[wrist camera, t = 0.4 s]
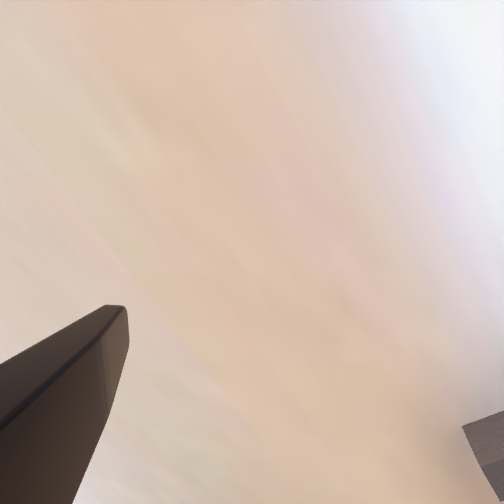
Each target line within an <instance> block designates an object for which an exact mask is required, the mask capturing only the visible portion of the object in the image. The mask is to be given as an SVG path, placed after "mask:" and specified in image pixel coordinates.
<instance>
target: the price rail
mask: <svg viewBox="0 0 504 504" xmlns="http://www.w3.org/2000/svg"><path fill="white" fill-rule="evenodd" d="M462 428H463V430H464V432H465V434H466V437H467V439H468V441H469V443H470V445H471V448H472V450H473V452H474V454H475V456H476V458H477V461H478V463H479V465H480V467H481V469H482V471H483V472H484V474H485V476H486V477H487V479H488V481H489V483H490V484H491V486H492V488H493V489H494V491H495V493H496V495H497V496H498V498H499V500H500V501H504V411H503V412H500V413H497V414H495V415H492V416H489V417H487V418H484V419H481V420H478V421H476V422H473V423H470V424H468V425H465V426H462Z"/></svg>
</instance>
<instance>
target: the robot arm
mask: <svg viewBox="0 0 504 504" xmlns="http://www.w3.org/2000/svg"><path fill="white" fill-rule="evenodd" d="M128 348H129V328H128V316H127V310H126V308H125V307H124V306H121V305H104V306H102V307H100V308H99V309H97V310H95V311H93V312H91V313H90V314H88V315H86V316H84V317H83V318H81V319H79V320H77V321H76V322H74V323H72V324H70V325H68V326H67V327H65V328H63V329H61V330H60V331H58V332H56V333H54V334H53V335H51V336H49V337H47V338H46V339H44V340H42V341H40V342H38V343H37V344H35V345H33V346H31V347H30V348H28V349H26V350H24V351H23V352H21V353H19V354H17V355H15V356H14V357H12V358H10V359H8V360H7V361H5V362H3V363H1V364H0V504H72V503H73V500H74V498H75V496H76V493H77V491H78V489H79V486H80V484H81V481H82V479H83V477H84V474H85V472H86V470H87V467H88V465H89V462H90V460H91V458H92V455H93V453H94V451H95V448H96V446H97V443H98V441H99V439H100V436H101V434H102V432H103V429H104V427H105V424H106V422H107V419H108V417H109V414H110V411H111V407H112V404H113V401H114V397H115V394H116V390H117V387H118V383H119V380H120V376H121V373H122V369H123V366H124V363H125V359H126V356H127V352H128Z"/></svg>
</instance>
